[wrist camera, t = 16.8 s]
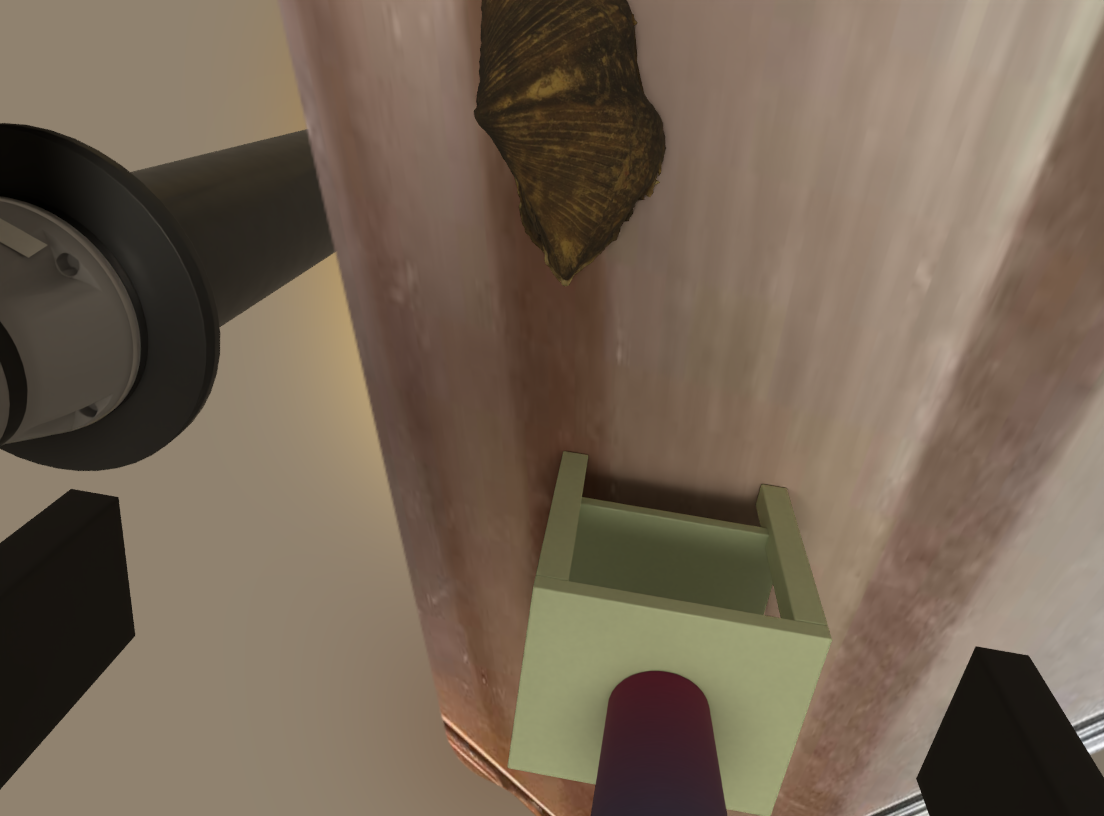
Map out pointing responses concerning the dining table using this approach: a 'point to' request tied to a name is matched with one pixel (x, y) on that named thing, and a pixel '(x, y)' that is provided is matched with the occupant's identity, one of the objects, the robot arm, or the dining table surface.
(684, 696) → the cup
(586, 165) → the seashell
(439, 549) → the dining table surface
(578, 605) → the stand
